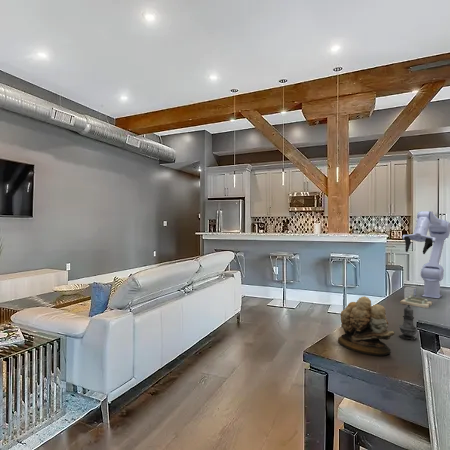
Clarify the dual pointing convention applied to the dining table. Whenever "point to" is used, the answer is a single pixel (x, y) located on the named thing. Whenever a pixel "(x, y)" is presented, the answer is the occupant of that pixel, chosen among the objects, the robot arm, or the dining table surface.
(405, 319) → the grey chess piece
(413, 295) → the block
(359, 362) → the dining table surface
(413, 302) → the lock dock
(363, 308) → the owl figurine
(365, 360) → the dining table surface
